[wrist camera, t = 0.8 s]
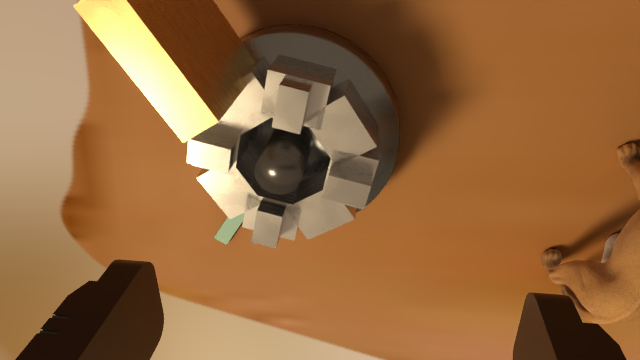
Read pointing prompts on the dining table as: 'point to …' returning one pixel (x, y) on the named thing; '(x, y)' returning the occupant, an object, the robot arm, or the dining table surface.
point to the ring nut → (242, 111)
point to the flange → (304, 149)
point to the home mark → (229, 228)
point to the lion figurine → (606, 265)
